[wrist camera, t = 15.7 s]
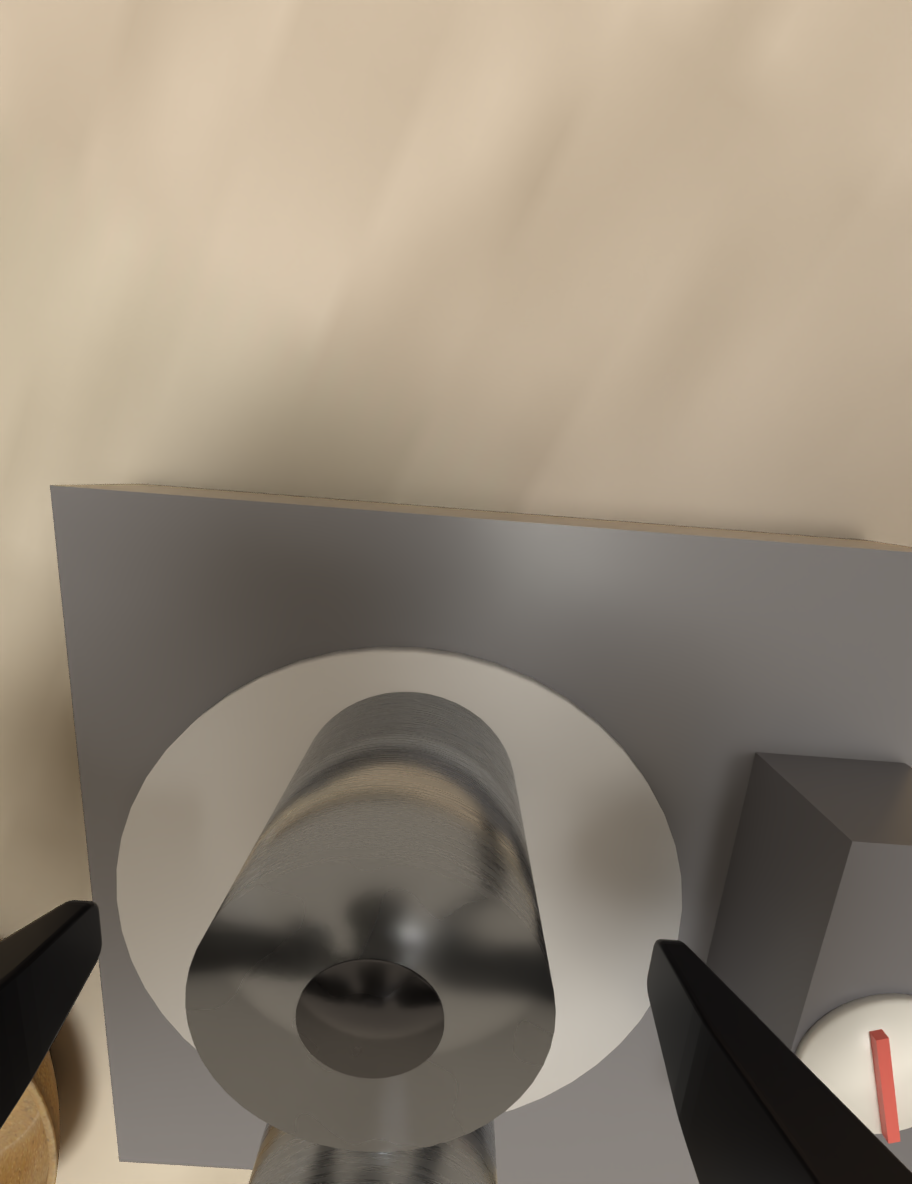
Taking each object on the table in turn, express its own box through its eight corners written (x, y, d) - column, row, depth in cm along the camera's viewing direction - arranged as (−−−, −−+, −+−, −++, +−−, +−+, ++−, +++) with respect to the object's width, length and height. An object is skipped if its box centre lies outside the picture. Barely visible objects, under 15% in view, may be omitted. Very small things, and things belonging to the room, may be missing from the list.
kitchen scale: (866, 540, 14) (1201, 592, 8) (724, 1085, 18) (862, 1399, 12) (138, 483, 14) (-134, 488, 7) (174, 1049, 18) (24, 1351, 12)
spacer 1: (504, 888, 12) (534, 1167, 7) (299, 874, 12) (191, 1145, 7) (526, 699, 11) (578, 876, 6) (301, 683, 11) (173, 849, 6)
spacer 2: (482, 1099, 14) (497, 1447, 9) (301, 1093, 14) (213, 1440, 9) (494, 953, 13) (518, 1259, 8) (296, 946, 13) (193, 1248, 8)
